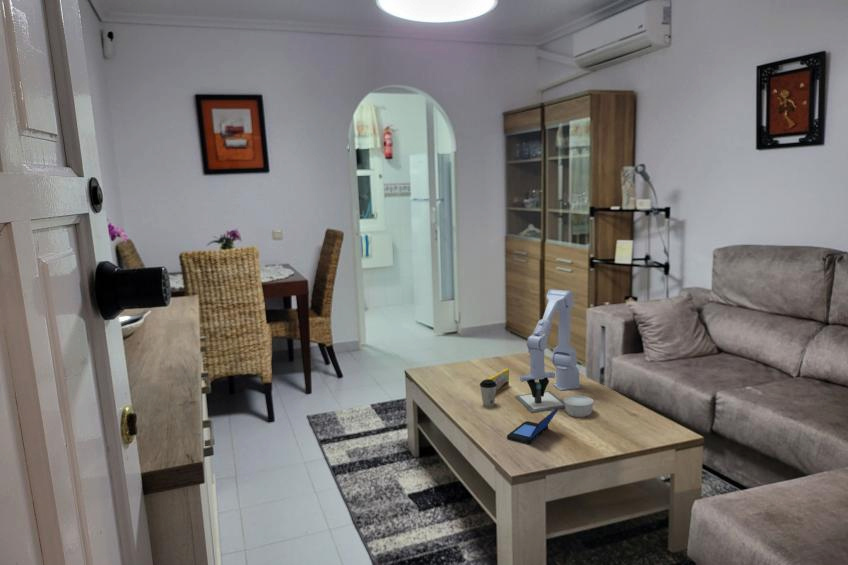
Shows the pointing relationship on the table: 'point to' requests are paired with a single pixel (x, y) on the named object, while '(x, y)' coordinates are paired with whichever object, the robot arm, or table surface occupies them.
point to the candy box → (501, 380)
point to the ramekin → (578, 405)
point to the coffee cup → (488, 392)
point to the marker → (538, 393)
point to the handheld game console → (530, 430)
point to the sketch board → (547, 402)
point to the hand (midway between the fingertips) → (537, 396)
